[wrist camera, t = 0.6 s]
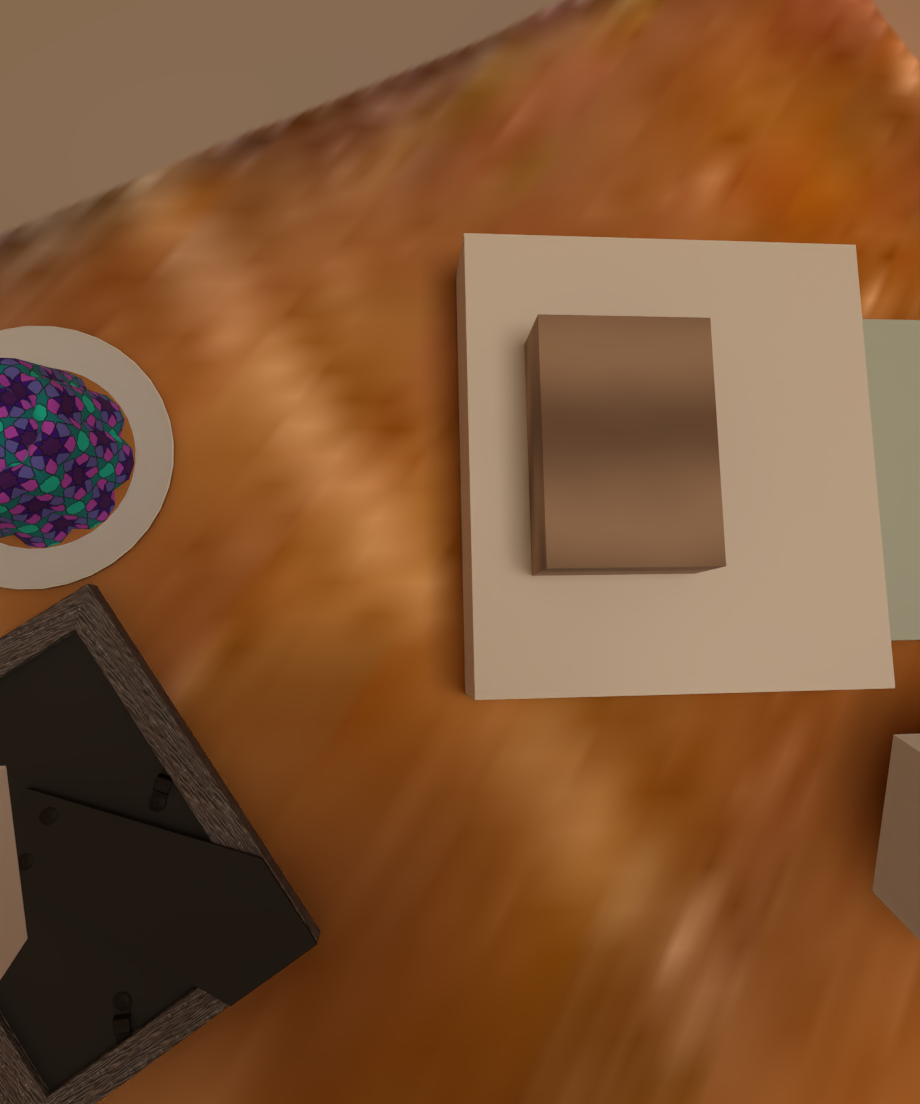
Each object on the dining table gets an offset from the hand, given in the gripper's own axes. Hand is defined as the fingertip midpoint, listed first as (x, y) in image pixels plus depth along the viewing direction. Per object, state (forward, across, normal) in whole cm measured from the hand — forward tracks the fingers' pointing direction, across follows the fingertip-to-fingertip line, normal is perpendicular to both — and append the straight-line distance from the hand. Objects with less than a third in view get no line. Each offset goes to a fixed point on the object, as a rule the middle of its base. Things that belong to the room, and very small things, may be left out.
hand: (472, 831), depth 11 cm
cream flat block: (+26, -11, -2) cm, 28 cm away
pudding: (+26, +17, -3) cm, 31 cm away
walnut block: (+22, -8, -4) cm, 24 cm away
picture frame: (+21, +15, +13) cm, 29 cm away
